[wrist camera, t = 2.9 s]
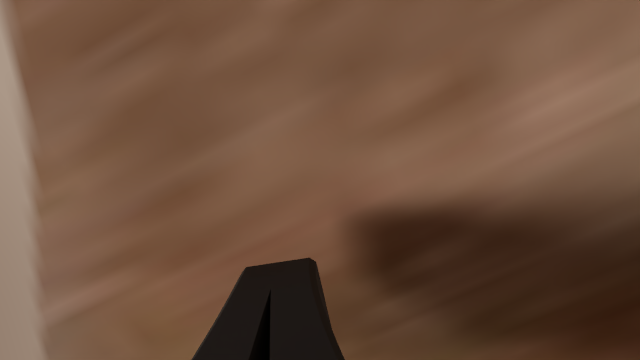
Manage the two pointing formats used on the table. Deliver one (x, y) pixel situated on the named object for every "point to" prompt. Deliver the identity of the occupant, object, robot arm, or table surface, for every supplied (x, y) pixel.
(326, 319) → the robot arm
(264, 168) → the table surface
